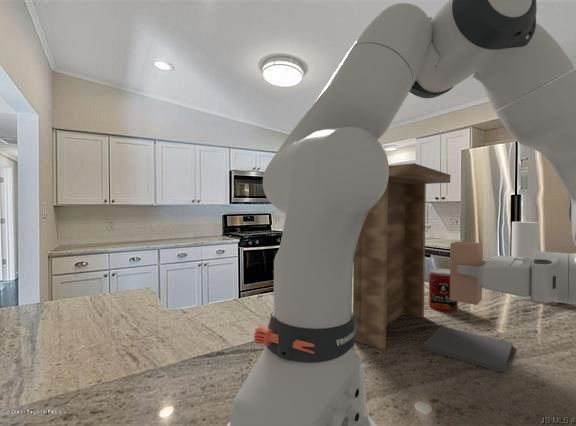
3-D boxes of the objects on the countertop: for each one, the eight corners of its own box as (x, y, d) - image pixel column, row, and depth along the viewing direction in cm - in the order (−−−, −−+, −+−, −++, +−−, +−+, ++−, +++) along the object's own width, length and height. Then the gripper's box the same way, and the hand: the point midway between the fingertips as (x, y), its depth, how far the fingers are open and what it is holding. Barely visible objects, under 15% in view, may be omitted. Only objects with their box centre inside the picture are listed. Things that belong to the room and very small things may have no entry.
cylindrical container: (505, 295, 104) (507, 221, 104) (518, 293, 107) (519, 221, 107) (529, 301, 98) (531, 222, 97) (542, 298, 101) (543, 222, 100)
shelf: (448, 322, 79) (450, 174, 78) (412, 359, 60) (414, 163, 59) (398, 310, 88) (400, 177, 87) (352, 339, 68) (354, 168, 68)
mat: (512, 346, 65) (512, 342, 65) (503, 372, 55) (504, 368, 55) (441, 329, 75) (441, 325, 75) (422, 348, 64) (422, 345, 64)
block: (481, 299, 65) (482, 243, 65) (477, 305, 61) (477, 245, 61) (455, 295, 69) (456, 241, 68) (449, 300, 65) (450, 243, 65)
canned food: (428, 309, 89) (428, 272, 89) (429, 302, 96) (430, 267, 96) (458, 314, 85) (458, 274, 85) (457, 306, 92) (458, 269, 92)
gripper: (547, 252, 64) (471, 246, 73) (544, 266, 49) (449, 257, 58) (547, 282, 64) (471, 273, 73) (544, 305, 49) (448, 290, 58)
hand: (461, 266), depth 65 cm, fingers closed on block, 5 cm apart
